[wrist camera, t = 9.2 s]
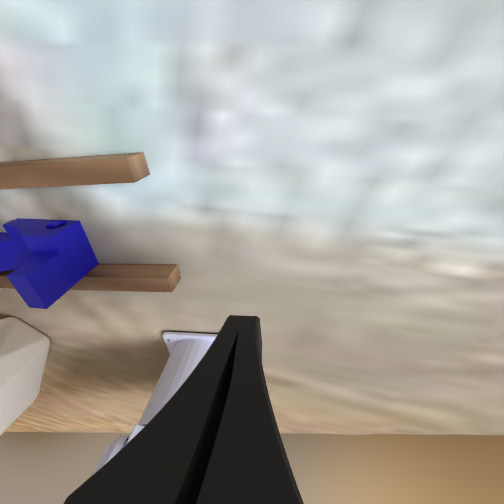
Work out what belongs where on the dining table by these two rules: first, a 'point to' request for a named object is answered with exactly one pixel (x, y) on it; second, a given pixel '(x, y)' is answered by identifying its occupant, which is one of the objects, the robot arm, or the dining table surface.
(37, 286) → the cable clip
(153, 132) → the dining table surface
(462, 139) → the dining table surface
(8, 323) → the vase
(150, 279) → the guide
